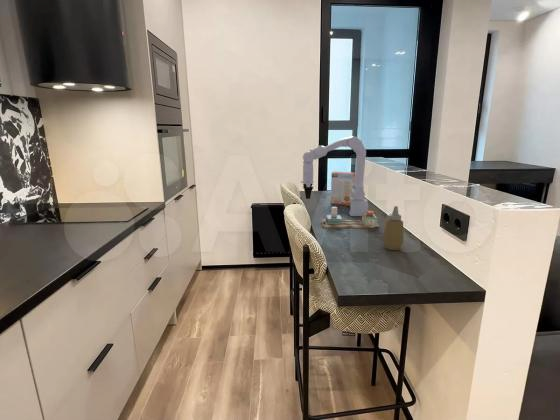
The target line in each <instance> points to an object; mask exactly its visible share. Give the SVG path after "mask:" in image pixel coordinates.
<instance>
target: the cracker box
mask: <svg viewBox="0 0 560 420" xmlns="http://www.w3.org/2000/svg"><path fill="white" fill-rule="evenodd" d="M354 178H355V172H349V171H336V170H335V171H332V172H331V178H330V179H331V181H330V205H338V206H346V207H350V206H351V197H352V194H351V189H352V188H353V183H354Z"/></svg>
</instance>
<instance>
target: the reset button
mask: <svg viewBox="0 0 560 420" xmlns="http://www.w3.org/2000/svg"><path fill="white" fill-rule="evenodd" d="M365 213H366V214H367V215H366V217H373V214H375V211H373V210H368V211H366V212H365Z"/></svg>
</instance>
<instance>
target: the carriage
mask: <svg viewBox="0 0 560 420" xmlns="http://www.w3.org/2000/svg"><path fill="white" fill-rule="evenodd" d="M330 208H331V209H330V210H331V212H330V214H327V215H326V220H327V222H328V224H342V220H343V218H342V216H341V214H338V207H337V206H332V207H330Z"/></svg>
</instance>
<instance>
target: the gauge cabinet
mask: <svg viewBox="0 0 560 420" xmlns="http://www.w3.org/2000/svg"><path fill="white" fill-rule="evenodd" d="M366 215H367V214H362V216H361V221H362V222H363V223H364V225H371V226H377V224H378V217H377V216H376V214H375V213H374V214H373V217H366Z"/></svg>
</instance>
